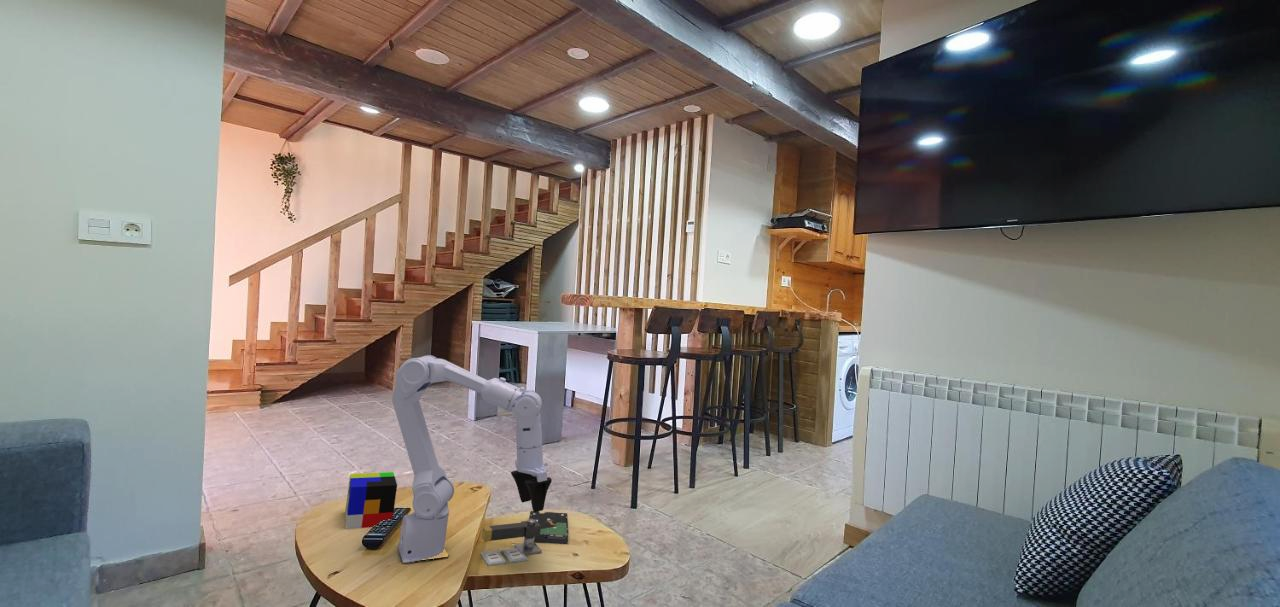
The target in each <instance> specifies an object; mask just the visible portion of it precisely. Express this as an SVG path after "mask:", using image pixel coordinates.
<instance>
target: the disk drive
mask: <svg viewBox="0 0 1280 607" xmlns="http://www.w3.org/2000/svg"><path fill="white" fill-rule="evenodd" d="M528 516H529V518H528V519H535V520H536V521H537V522H538V523H539V524H540V525H541V531H540V536H536V537H535V538H534V542H535V543H536V544H537V543H538V544H550V545H551V544H554V545H568V543H569V542H568V541H569V523H568V521H569V519H568V518H569V517H568V513H567V512H553V511H546V512H543V513H540V511H538V512H534V511H533V510H531V511H529V515H528Z"/></svg>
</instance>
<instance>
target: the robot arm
mask: <svg viewBox="0 0 1280 607" xmlns="http://www.w3.org/2000/svg"><path fill="white" fill-rule="evenodd" d="M395 378H396V379H395V384H394V388H393V393H392V397H391V402H392V406H393V408H394V411H395V415H396V420H397V421H398V424H399V428H400V432H401V436H402V438H403V439H402V440H403V443H404V445H405V448H406V451H407V452H406V453H407V455H408V459H409V463H410V465H411V469H412V473H413V475H414V476H413V477H414V478H413V481H412V487H411V490H412V495H413V497H412V504H411V505H412V509H413V511H414V512H412V513H409V514H405V515H403V517H402V521H401V527H400V536H399V543H398V546H397V548H398V552H399V556H400V558H401V561H402V564H410V562H411V563H415V561H418V560H422V559H428V558H430V557H431V558H432V557H434V556H437V555H439V554H440V553H442V552H443V550H444V546H445V545H446V538H447V530H448V523H449V515H450V514H449V513H450V508H449V504H448V503H449V502H450V500H452V499H453V496H454V494H455V486H454V484H453V482H452V481H451V480H450V479H449V477H447V474H446V472H445V469H444V468H442V467H441V466H440V465H439V462H438V460H437V456H436V455H437V454H436V453H435V449H434V446H433V442H432V438H431V435H430V432H429V429H428V426H427V423H426V419H425V415H424V412H423V408H422V406H421V403H420V399H421V398H422V396H423V394H424V393H425V391H426V390H427V388H428V387H430V385H432V384H434V383H440V382H450V383H452V384H454V385H457V386H460V387H462V388H463V387H464V388H466V389H468V390H470V391H474V392H476V393H479V394H481V397H482V399H483V401H484V402H486V403H488V404H490V405H492V406H495V407H497V408H500V409H502V410H504V411H507V412H512V414H513V416H514V417H515V422H516V423H515V425H516V426H515V440H516V458H515V461H514V462H515V468H516V470H513V471H511V472H510V474H511V476H512V478H513V480H514V481H515V482H514V483H515V485H516V487H517V491H518V494H519V495H518V496H519V499H520V502H521V503H522V504H523V503H526V502H531V508H532V511H534V512H538V511H539V512H541V511H543V510H544V509H545V503H546V498H547V493H548V490H549V488H550V487H551V483H552V477H549V476H548V472H547V471H546V469H545V468H546V467H547V466H549V462H548V461H547V460H544V456H543V452H544V451H543V435H542V434H543V431H542V430H543V429H542V423H541V421H542V420H541V419H542V417H541V413H540V411H541V409H542V407H543V406H542V405H543V401H542V398H541V396H540V395H539V394H538V393H537V392H535V391H534V390H531V389H529V390H526V388H525V387H523V386H521V387H518V386H516V385H514V384H511V383H509V382H507V381H506V380H507V379H506V378H505V377H499V378H497V377H493V378H491V379H486V378H484V377H481V376H479V375H478V374H475V373H473V372H471V371H469V370H468V369H465V368H462V367H460V366H459V365H456V364H454V363H453V362H450V361H448V360H447V359H444V358H437V357H436V356H434V355H430V354H427V355H423V356H419V357H413V358H409V359H407V360H405V361H404V362H403V363H402V364H401V365H400V367H399V368H398V369H397V371H396V372H395ZM445 547H446V546H445ZM418 562H419V561H418Z"/></svg>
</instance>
